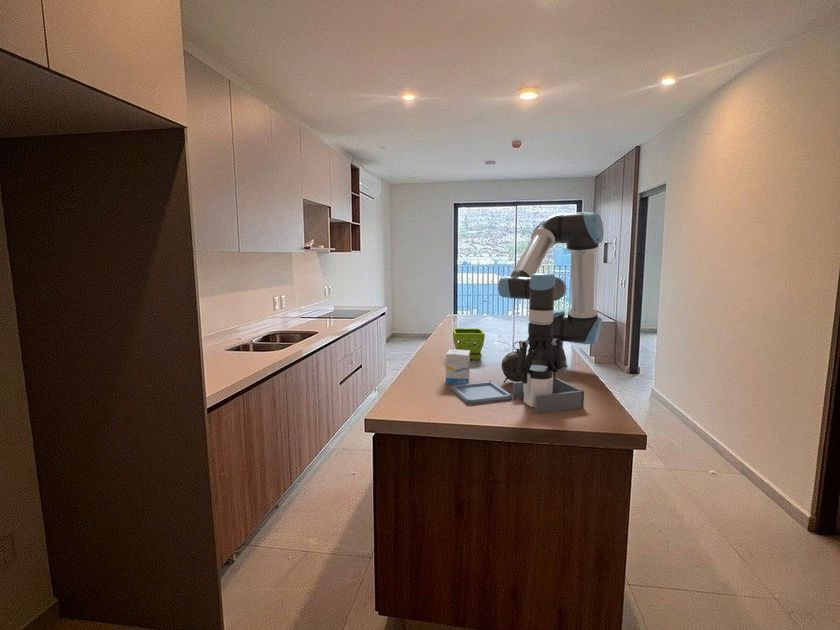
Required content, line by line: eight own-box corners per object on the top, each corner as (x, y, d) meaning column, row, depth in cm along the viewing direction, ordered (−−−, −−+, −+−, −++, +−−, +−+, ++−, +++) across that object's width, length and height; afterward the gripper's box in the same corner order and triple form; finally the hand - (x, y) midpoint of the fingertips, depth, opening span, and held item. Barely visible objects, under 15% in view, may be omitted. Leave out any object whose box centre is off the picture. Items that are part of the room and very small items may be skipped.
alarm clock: (529, 381, 165) (531, 340, 162) (532, 386, 159) (534, 343, 157) (500, 381, 165) (502, 339, 163) (502, 385, 160) (503, 342, 158)
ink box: (468, 385, 160) (468, 355, 158) (445, 384, 162) (445, 354, 160) (470, 378, 169) (470, 349, 167) (448, 377, 170) (448, 348, 168)
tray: (491, 385, 161) (491, 381, 160) (512, 399, 145) (512, 395, 145) (450, 389, 156) (450, 385, 156) (468, 404, 141) (468, 400, 141)
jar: (531, 397, 147) (533, 363, 146) (555, 403, 142) (557, 367, 140) (519, 404, 141) (521, 368, 139) (543, 410, 135) (545, 373, 134)
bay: (555, 392, 152) (556, 377, 151) (583, 407, 138) (584, 391, 137) (512, 397, 147) (513, 382, 146) (536, 413, 133) (537, 396, 132)
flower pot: (484, 361, 195) (485, 333, 193) (453, 361, 195) (454, 333, 193) (480, 353, 208) (481, 327, 206) (451, 353, 209) (452, 327, 207)
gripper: (561, 319, 144) (558, 385, 147) (505, 322, 138) (503, 390, 141) (575, 322, 137) (571, 392, 140) (517, 326, 131) (515, 398, 134)
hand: (537, 391), depth 141 cm, fingers closed on jar, 8 cm apart
